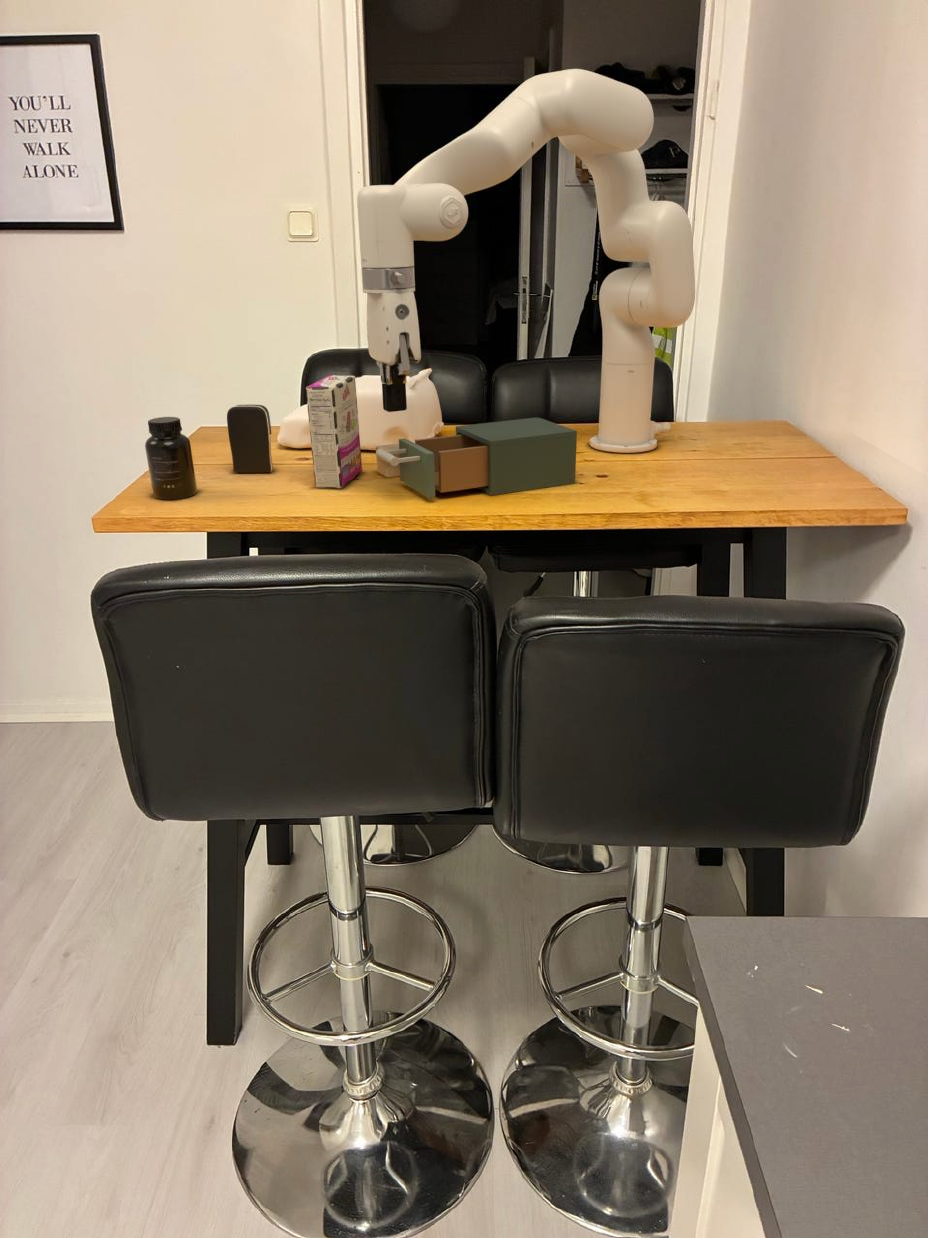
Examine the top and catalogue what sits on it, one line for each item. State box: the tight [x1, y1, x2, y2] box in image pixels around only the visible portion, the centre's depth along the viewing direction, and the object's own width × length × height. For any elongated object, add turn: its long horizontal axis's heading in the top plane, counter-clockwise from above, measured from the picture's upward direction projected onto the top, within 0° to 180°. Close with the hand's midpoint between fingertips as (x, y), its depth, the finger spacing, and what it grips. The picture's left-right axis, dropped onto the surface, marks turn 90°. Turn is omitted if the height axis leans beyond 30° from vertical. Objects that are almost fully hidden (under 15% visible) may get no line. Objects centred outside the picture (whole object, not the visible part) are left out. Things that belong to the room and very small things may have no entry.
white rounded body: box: [276, 367, 445, 451], centre depth 175 cm, size 19×30×13 cm, turn 79°
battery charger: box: [226, 404, 274, 474], centre depth 155 cm, size 7×4×11 cm, turn 88°
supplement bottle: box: [144, 416, 198, 501], centre depth 142 cm, size 7×7×12 cm
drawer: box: [375, 434, 489, 498], centre depth 143 cm, size 19×11×7 cm, turn 116°
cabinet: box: [455, 417, 578, 497], centre depth 148 cm, size 16×13×9 cm
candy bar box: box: [305, 374, 363, 490], centre depth 148 cm, size 11×5×16 cm, turn 168°
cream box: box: [375, 443, 400, 478], centre depth 154 cm, size 4×4×4 cm
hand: (395, 409), depth 136 cm, fingers closed
